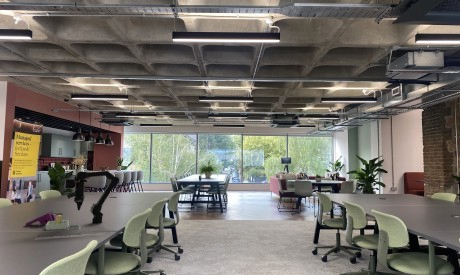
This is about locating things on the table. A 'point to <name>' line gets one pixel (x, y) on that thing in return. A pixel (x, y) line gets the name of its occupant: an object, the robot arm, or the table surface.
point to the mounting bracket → (43, 219)
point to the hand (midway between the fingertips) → (79, 209)
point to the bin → (57, 225)
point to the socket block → (74, 227)
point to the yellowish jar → (58, 219)
